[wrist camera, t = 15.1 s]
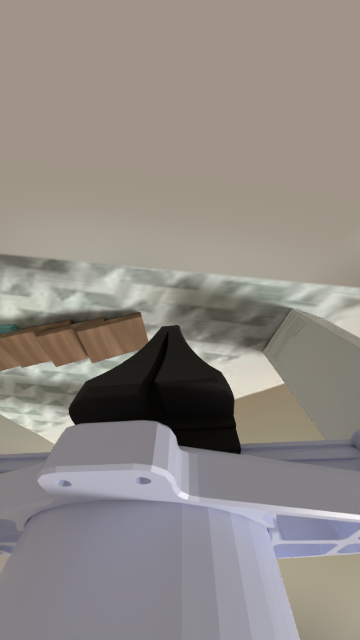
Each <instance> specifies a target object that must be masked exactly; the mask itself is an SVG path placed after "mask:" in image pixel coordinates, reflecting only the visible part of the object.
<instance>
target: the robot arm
mask: <svg viewBox="0 0 360 640" xmlns="http://www.w3.org/2000/svg"><path fill="white" fill-rule="evenodd" d="M69 415H70V417H71V419H72V421H73V422H74V424H75V425H74V426H70V427H68V428H66V429H65V431H64V432H63V433H62V434H61V436H60V437H59V439H58V441H57V442H56V444H55V446H54V447H53V449H52V451H51V452H47V453H24V454H1V455H0V555H7V556H9V558H8V560H7V562H6V564H5V566H4V568H3V569H2V571H1V573H0V640H300V638H299V635H298V631H297V628H296V624H295V621H294V617H293V614H292V611H291V607H290V604H289V600H288V597H287V593H286V590H285V587H284V583H283V580H282V576H281V573H280V570H279V567H278V563H277V559H283V558H284V559H285V558H300V557H315V556H329V555H345V554H360V428H359V429H357V430H355V431H354V432H353V434H352V436H351V439H341V440H320V441H319V440H318V441H296V442H273V443H250V444H240V442H239V439H238V435H237V431H236V423H235V419H234V416H233V415H234V396H233V393H232V391H231V388H230V386H229V384H228V382H227V381H226V379H225V377H224V376H223V374H222V373H221V372H220V371H218V370H217V369H215V368H213V367H211V366H210V365H208V364H207V363H206V362H204V361H203V360H202V359H201V358H200V357H199V356H197V355H196V353H195V352H194V351H193V350H192V349H191V348H190V347H189V345H188V344H187V342H186V341H185V339H184V337H183V336H182V333H181V331H180V326H179V325H174V326H163V327H161V328H160V330H159V331H158V332H157V333H156V334H155V335H154V337H153V338H152V339H151V340H150V341H149V342H148V343H147V344H146V345H145V346H144V347H143V348H142V349H141V350H139V351H138V352H137V353H136V354H135V355H133V356H132V357H130V358H129V359H128V360H126V361H125V362H123V363H122V364H120V365H118V366H117V367H115V368H113V369H111V370H109V371H108V372H106V373H104V374H101V375H99V376H97V377H95V378H93V379H91V380H88V381H86V382H85V384H84V385H83V387H82V388H81V390H80V391H79V393H78V394H77V396H76V397H75V399H74V400H73V402H72V403H71V405H70V407H69Z"/></svg>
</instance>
